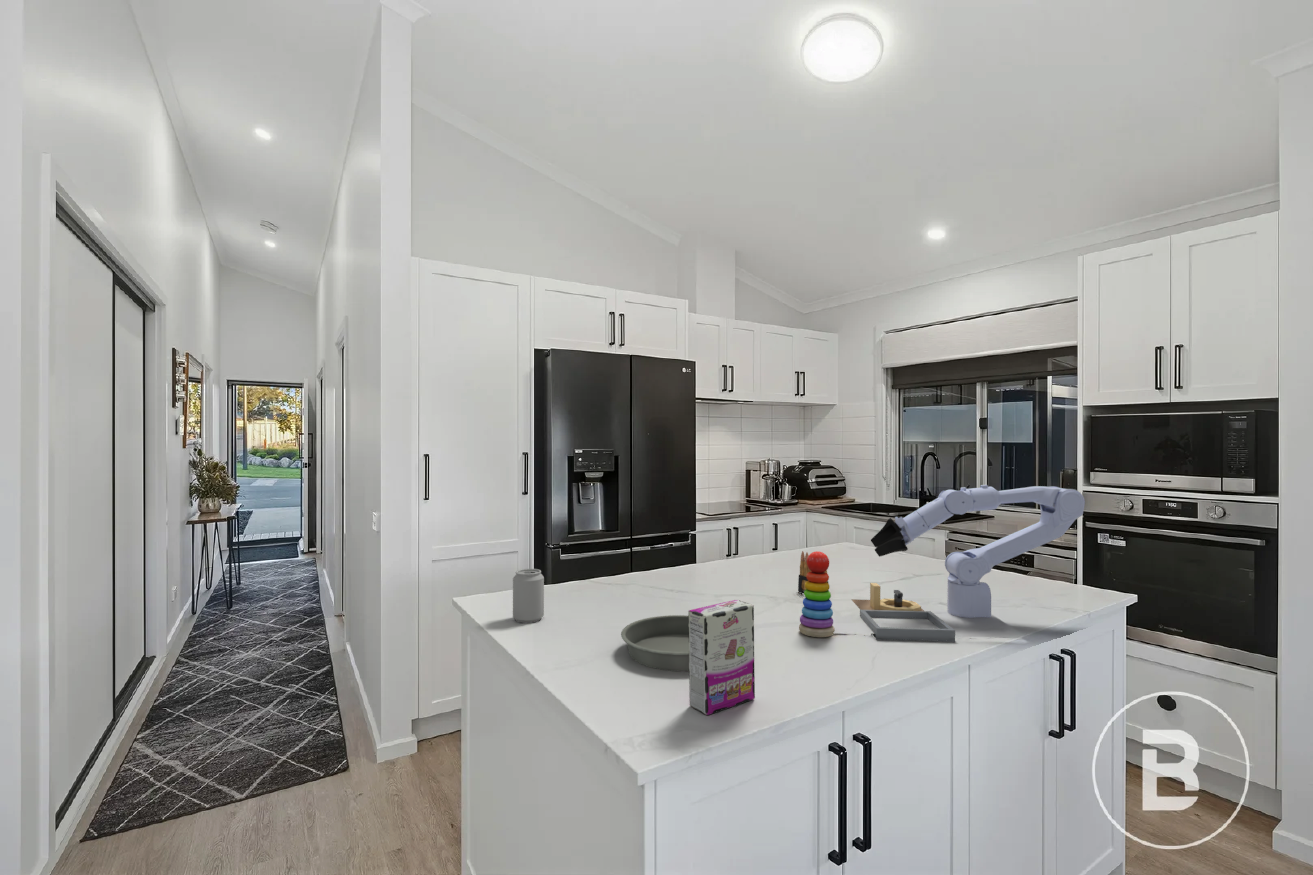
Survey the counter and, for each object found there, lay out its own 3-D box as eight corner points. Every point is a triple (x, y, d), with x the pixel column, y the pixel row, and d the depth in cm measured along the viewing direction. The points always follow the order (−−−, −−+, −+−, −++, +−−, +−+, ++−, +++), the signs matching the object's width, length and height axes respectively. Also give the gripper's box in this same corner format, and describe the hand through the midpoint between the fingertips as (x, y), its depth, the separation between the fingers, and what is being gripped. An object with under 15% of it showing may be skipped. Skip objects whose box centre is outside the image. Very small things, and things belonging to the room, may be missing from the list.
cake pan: (606, 641, 139) (606, 621, 139) (707, 629, 148) (707, 610, 148) (643, 682, 116) (643, 658, 116) (760, 665, 125) (760, 643, 125)
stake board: (911, 604, 169) (911, 600, 169) (930, 619, 155) (930, 615, 155) (851, 602, 170) (851, 599, 170) (864, 618, 156) (864, 614, 156)
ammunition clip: (829, 599, 174) (829, 556, 174) (824, 600, 173) (824, 557, 173) (802, 591, 183) (803, 550, 183) (797, 591, 182) (798, 550, 182)
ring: (911, 603, 166) (911, 580, 166) (925, 614, 156) (925, 590, 156) (866, 602, 167) (867, 580, 167) (877, 613, 157) (877, 589, 157)
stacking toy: (836, 639, 140) (836, 555, 140) (799, 637, 141) (799, 554, 141) (833, 629, 148) (833, 549, 148) (798, 626, 149) (798, 548, 149)
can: (547, 615, 158) (547, 567, 158) (538, 624, 151) (539, 574, 151) (518, 614, 159) (518, 566, 159) (508, 623, 151) (508, 573, 151)
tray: (930, 621, 154) (930, 611, 154) (955, 641, 139) (955, 630, 139) (859, 619, 155) (859, 609, 155) (876, 639, 140) (876, 628, 140)
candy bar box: (735, 690, 112) (736, 598, 112) (755, 699, 108) (756, 604, 108) (686, 705, 106) (687, 608, 106) (706, 716, 102) (706, 615, 102)
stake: (900, 606, 163) (900, 590, 163) (904, 610, 160) (904, 593, 160) (892, 606, 164) (892, 589, 164) (896, 610, 160) (896, 593, 160)
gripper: (914, 518, 167) (869, 545, 168) (909, 497, 155) (861, 526, 157) (931, 539, 163) (885, 566, 164) (927, 519, 151) (878, 549, 153)
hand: (874, 548), depth 160 cm, fingers open, 7 cm apart
